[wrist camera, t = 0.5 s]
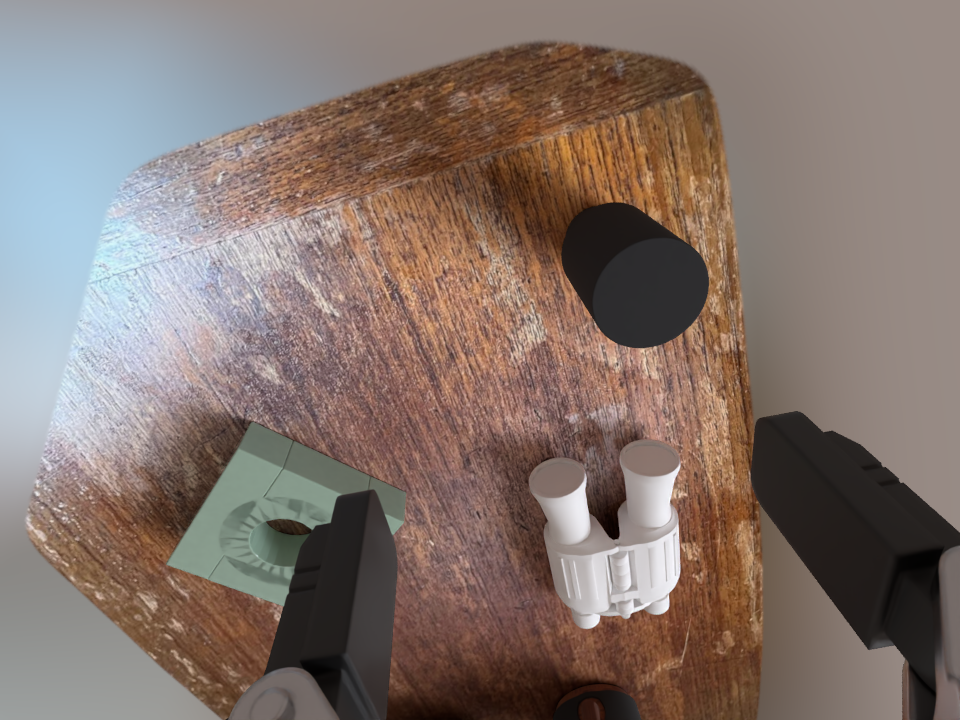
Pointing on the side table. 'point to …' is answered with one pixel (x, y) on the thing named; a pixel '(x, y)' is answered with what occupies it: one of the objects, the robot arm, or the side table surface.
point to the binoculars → (599, 559)
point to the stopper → (633, 275)
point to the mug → (597, 704)
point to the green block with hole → (269, 512)
